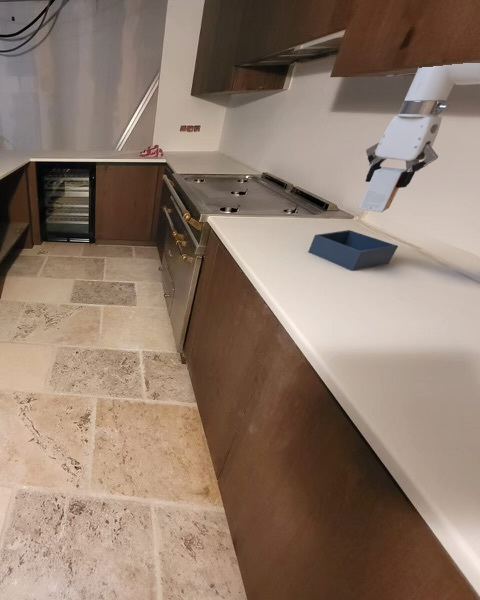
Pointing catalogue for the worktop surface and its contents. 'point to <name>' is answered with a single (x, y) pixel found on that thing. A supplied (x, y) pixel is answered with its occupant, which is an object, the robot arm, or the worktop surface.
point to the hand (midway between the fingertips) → (385, 183)
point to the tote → (352, 249)
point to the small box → (381, 189)
